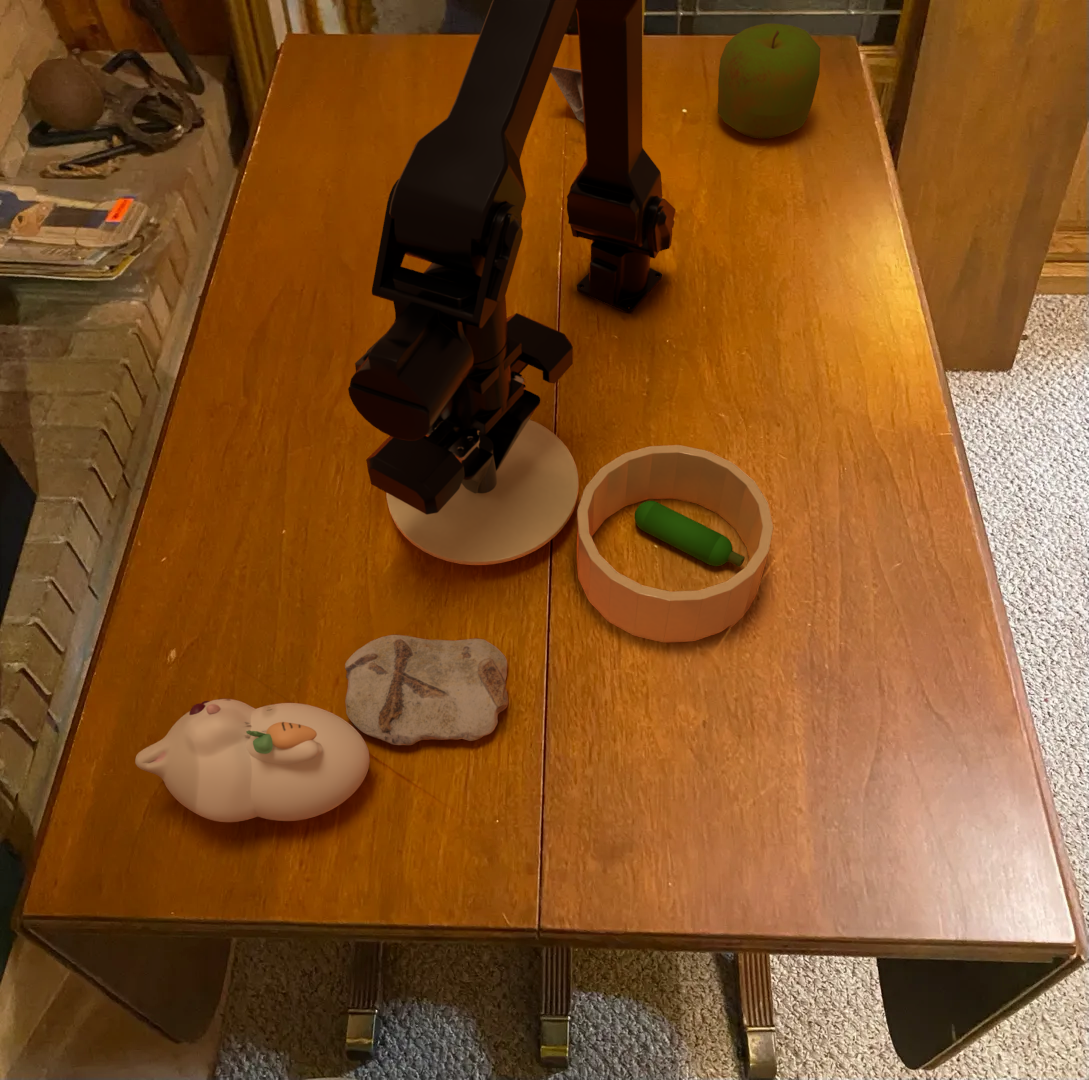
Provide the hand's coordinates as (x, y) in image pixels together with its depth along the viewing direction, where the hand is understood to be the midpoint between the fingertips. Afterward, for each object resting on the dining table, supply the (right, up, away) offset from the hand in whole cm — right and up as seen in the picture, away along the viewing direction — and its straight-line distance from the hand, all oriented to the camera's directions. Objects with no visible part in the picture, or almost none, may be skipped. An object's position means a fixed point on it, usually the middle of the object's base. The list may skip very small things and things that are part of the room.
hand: (482, 478), depth 83 cm
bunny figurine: (-14, -22, -11) cm, 29 cm away
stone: (-4, -17, -7) cm, 19 cm away
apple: (+30, +43, +35) cm, 63 cm away
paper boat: (+10, +43, +36) cm, 57 cm away
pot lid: (0, -1, +1) cm, 1 cm away
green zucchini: (+15, -5, -2) cm, 16 cm away
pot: (+15, -7, -1) cm, 17 cm away
